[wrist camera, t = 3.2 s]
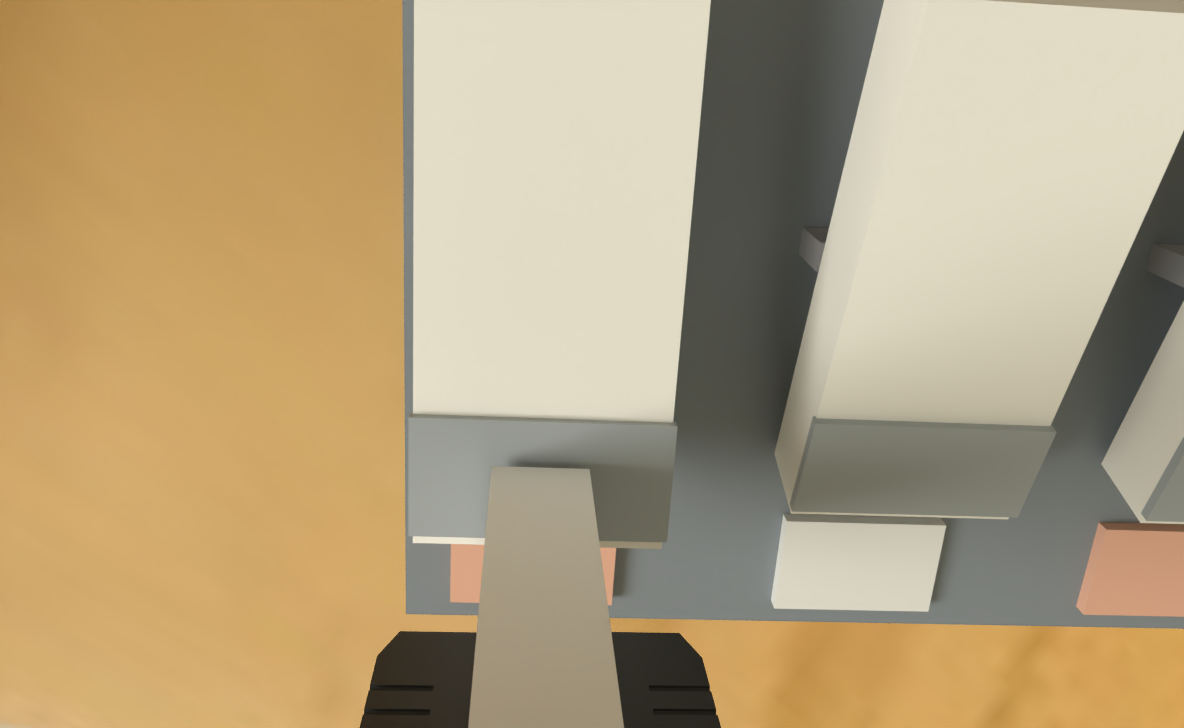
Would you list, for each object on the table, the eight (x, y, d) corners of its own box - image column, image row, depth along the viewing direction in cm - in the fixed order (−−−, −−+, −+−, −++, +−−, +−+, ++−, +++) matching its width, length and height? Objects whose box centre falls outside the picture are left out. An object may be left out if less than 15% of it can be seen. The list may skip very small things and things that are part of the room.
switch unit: (432, -245, 19) (389, -348, 13) (1316, -173, 20) (1627, -239, 15) (430, 504, 25) (398, 661, 19) (1122, 523, 26) (1290, 675, 20)
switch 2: (889, -39, 14) (929, 0, 12) (1174, -19, 14) (1245, 20, 13) (771, 453, 19) (789, 519, 18) (979, 459, 19) (1013, 525, 18)
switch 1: (423, -59, 15) (409, -71, 13) (699, -41, 15) (720, -51, 13) (420, 498, 17) (408, 547, 16) (653, 504, 18) (666, 553, 16)
